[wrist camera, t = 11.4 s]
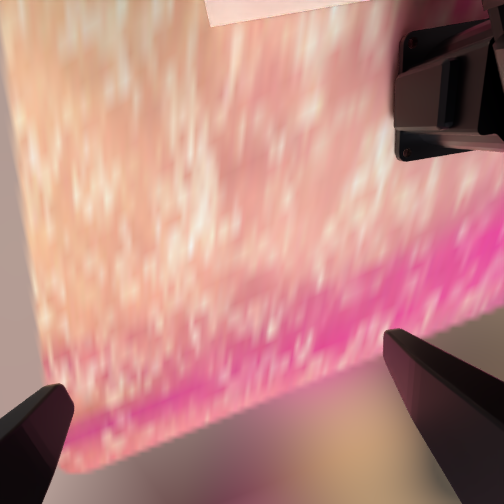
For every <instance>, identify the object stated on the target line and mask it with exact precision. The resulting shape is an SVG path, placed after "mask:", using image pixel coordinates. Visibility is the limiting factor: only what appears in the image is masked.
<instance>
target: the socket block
mask: <svg viewBox="0 0 504 504" xmlns="http://www.w3.org/2000/svg"><path fill="white" fill-rule="evenodd" d="M204 1H205V5H206V10H207V14H208V19H209V23H210V27H215V26H221V25H227V24H233V23H238V22H244V21H250V20H256V19H262V18H268V17H274V16H280V15H286V14H292V13H297V12H303V11H309V10H315V9H321V8H327V7H333V6H339V5H345V4H351V3H357V2H362V1H368V0H204Z"/></svg>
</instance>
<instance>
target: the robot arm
mask: <svg viewBox="0 0 504 504" xmlns="http://www.w3.org/2000/svg"><path fill="white" fill-rule="evenodd" d="M482 4H483V8H484V11H485V10H488V14H489V19H483V20H477V21H471V22H465V23H459V24H453V25H447V26H441V27H435V28H430V29H424V30H418V31H413V32H410V33H408V34H407V35H405V36H404V37H403V38H402V40H401V42H400V46H399V70H398V77H397V78H396V80H395V102H394V128H395V129H396V158H397V159H398V160H400V161H406V162H407V161H413V160H419V159H425V158H431V157H437V156H443V155H449V154H455V153H461V152H467V151H473V150H482V151H495V152H504V0H482ZM410 39H411V40H412V41H413V47H412V48H409V46H408V41H409V40H410ZM405 149H407V150H408V153H407V155H406V156H403V152H404V150H405ZM383 357H384V360H385V363H386V365H387V367H388V370H389V372H390V374H391V376H392V378H393V380H394V382H395V385H396V387H397V389H398V391H399V393H400V395H401V397H402V400H403V401H404V404H405V406H406V408H407V410H408V412H409V414H410V416H411V418H412V420H413V422H414V423H415V425H416V427H417V428H418V430H419V432H420V434H421V435H422V437H423V439H424V440H425V442H426V444H427V445H428V447H429V449H430V450H431V452H432V454H433V456H434V457H435V459H436V461H437V462H438V464H439V466H440V467H441V469H442V471H443V472H444V474H445V476H446V477H447V479H448V481H449V482H450V484H451V486H452V487H453V489H454V491H455V493H456V494H457V496H458V498H459V499H460V501H461V503H462V504H504V382H503V381H502V380H500V379H498V378H496V377H494V376H492V375H490V374H488V373H486V372H484V371H482V370H480V369H478V368H476V367H474V366H472V365H471V364H468V363H467V362H465V361H463V360H461V359H459V358H457V357H455V356H453V355H451V354H449V353H447V352H445V351H443V350H442V349H439V348H438V347H435V346H434V345H432V344H430V343H428V342H426V341H424V340H422V339H420V338H418V337H416V336H414V335H412V334H410V333H409V332H407V331H405V330H403V329H400V328H397V329H390V330H386V331H385V332H384V337H383ZM73 414H74V403H73V401H72V399H71V398H70V396H69V394H68V392H67V390H66V389H65V387H64V385H62V384H59V383H58V384H52V385H47V386H44V387H42V388H41V389H40V390H39V391H37V392H36V393H34V394H33V395H31V396H30V397H29V398H27V399H26V400H25V401H23V402H22V403H21V404H19V405H18V406H17V407H15V408H14V409H13V410H11V411H10V412H8V413H7V414H6V415H5V416H3V417H2V418H1V419H0V504H42V502H43V500H44V497H45V495H46V493H47V490H48V488H49V485H50V483H51V480H52V477H53V475H54V473H55V470H56V467H57V464H58V461H59V458H60V455H61V451H62V448H63V445H64V442H65V439H66V436H67V433H68V430H69V426H70V423H71V420H72V417H73Z"/></svg>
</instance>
